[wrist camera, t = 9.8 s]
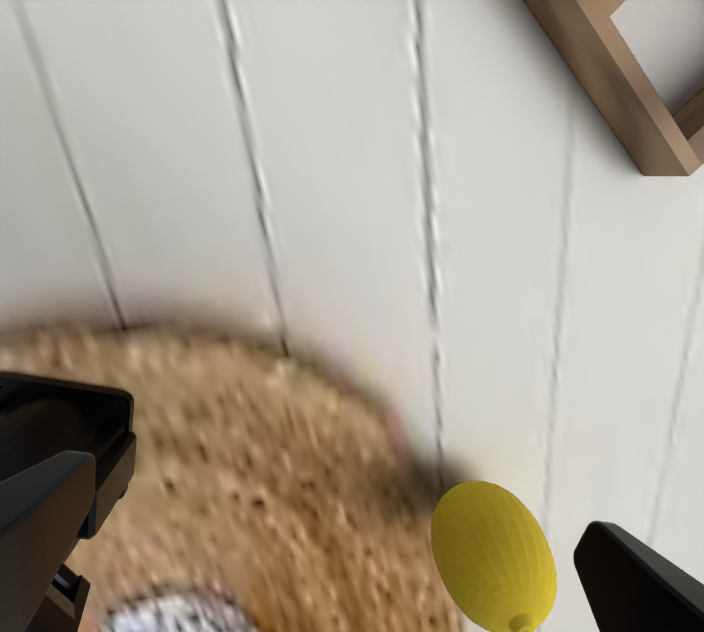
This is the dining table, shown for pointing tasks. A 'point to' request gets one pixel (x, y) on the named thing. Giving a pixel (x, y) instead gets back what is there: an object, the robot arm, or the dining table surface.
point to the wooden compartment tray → (623, 87)
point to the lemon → (493, 558)
